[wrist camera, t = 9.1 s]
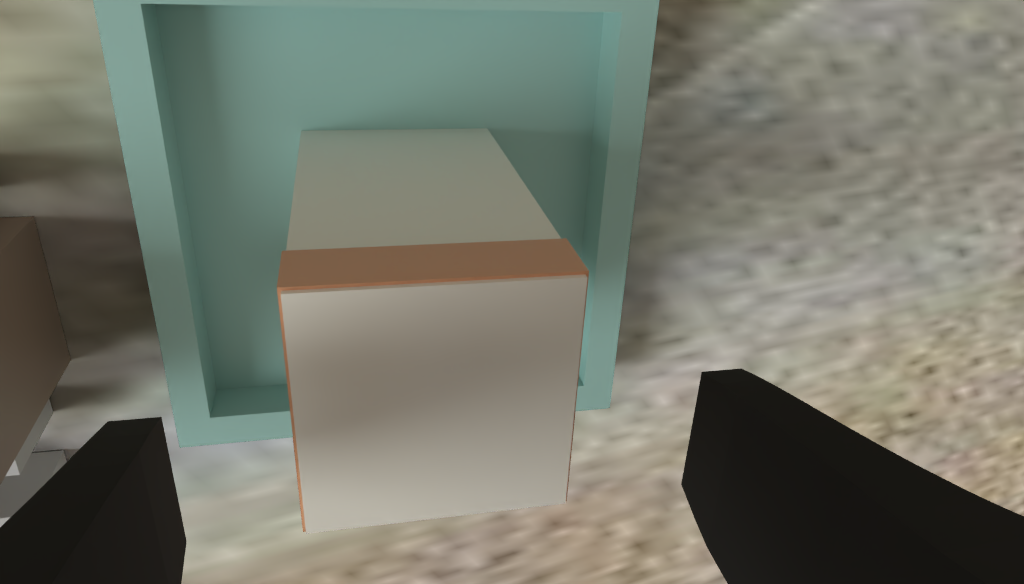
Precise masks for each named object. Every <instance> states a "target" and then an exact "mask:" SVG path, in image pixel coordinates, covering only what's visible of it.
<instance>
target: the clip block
mask: <svg viewBox="0 0 1024 584" xmlns="http://www.w3.org/2000/svg"><path fill="white" fill-rule="evenodd" d="M52 414H53V410H52V407H51V403H50V400H49V399H48V401H47V403H46V405H45V407H44V408H43V410H42V412H41V414H40V416H39V417H38V419H37V421H36V423H35V424H34V426H33V428H32V430H31V432H30V433H29V435H28V437H27V439H26V440H25V442H24V444H23V446H22V448H21V449H20V451H19V453H18V455H17V456H16V458H15V460H14V462H13V464H12V465H11V467H10V469H9V471H8V472H7V474H6V476H5V478H4V480H3V481H2V483H1V485H0V527H1V526H2V525H3V524H4V523H5V522H6V521H7V520H8V519H9V518H10V517H11V516H12V515H14V514H15V513H16V512H17V511H18V510H19V509H20V508H21V507H22V506H23V505H24V504H25V503H26V502H27V501H28V500H29V499H30V498H31V497H32V496H33V495H34V494H35V493H36V492H37V491H38V490H39V489H40V488H41V487H42V486H43V485H44V484H45V483H46V482H47V481H48V480H49V479H50V478H51V477H52V476H53V475H54V474H55V473H56V472H57V471H58V470H59V469H60V468H61V467H62V466H63V465H64V464H65V463H66V462H67V460H66V457H65V453H64V450H61V451H50V452H39V453H32V451H33V449H34V448H35V446H36V444H37V442H38V440H39V438H40V436H41V434H42V433H43V431H44V429H45V427H46V425H47V423H48V421H49V420H50V418H51V416H52Z"/></svg>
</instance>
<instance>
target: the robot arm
mask: <svg viewBox="0 0 1024 584" xmlns="http://www.w3.org/2000/svg"><path fill="white" fill-rule="evenodd" d="M682 487H683V490H684V492H685V495H686V497H687V500H688V502H689V505H690V507H691V510H692V513H693V515H694V518H695V520H696V522H697V525H698V527H699V529H700V532H701V534H702V536H703V539H704V541H705V543H706V546H707V548H708V549H709V551H710V553H711V555H712V557H713V558H714V560H715V562H716V564H717V566H718V567H719V569H720V571H721V573H722V574H723V576H724V578H725V580H726V581H727V583H728V584H1024V516H1021V515H1019V514H1017V513H1015V512H1012V511H1010V510H1008V509H1005V508H1003V507H1001V506H999V505H996V504H994V503H992V502H990V501H988V500H986V499H984V498H981V497H979V496H977V495H975V494H973V493H971V492H969V491H967V490H965V489H963V488H961V487H959V486H957V485H955V484H953V483H951V482H949V481H947V480H945V479H943V478H941V477H939V476H937V475H935V474H933V473H931V472H929V471H927V470H925V469H923V468H921V467H919V466H917V465H915V464H914V463H912V462H910V461H908V460H906V459H904V458H902V457H901V456H899V455H897V454H895V453H893V452H891V451H889V450H888V449H886V448H884V447H882V446H880V445H879V444H877V443H875V442H873V441H871V440H870V439H868V438H866V437H864V436H862V435H861V434H859V433H857V432H855V431H854V430H852V429H850V428H848V427H847V426H845V425H843V424H841V423H840V422H838V421H836V420H834V419H833V418H831V417H829V416H827V415H826V414H824V413H822V412H820V411H819V410H817V409H815V408H813V407H812V406H810V405H808V404H807V403H805V402H803V401H801V400H800V399H798V398H796V397H794V396H793V395H791V394H789V393H787V392H785V391H784V390H782V389H780V388H778V387H777V386H775V385H773V384H771V383H769V382H767V381H765V380H764V379H762V378H760V377H758V376H756V375H754V374H752V373H749V372H747V371H745V370H743V369H732V370H720V371H708V372H702V374H701V380H700V385H699V391H698V396H697V402H696V407H695V413H694V418H693V424H692V429H691V435H690V440H689V446H688V451H687V456H686V462H685V467H684V473H683V478H682ZM185 548H186V537H185V532H184V527H183V522H182V517H181V512H180V507H179V502H178V497H177V492H176V487H175V483H174V478H173V473H172V468H171V463H170V458H169V453H168V448H167V443H166V438H165V433H164V428H163V423H162V418H161V417H157V418H145V419H133V420H121V421H109V422H107V423H106V424H105V425H104V426H103V427H102V428H101V429H100V430H99V431H98V432H97V433H96V434H95V435H94V436H93V437H92V438H91V439H90V440H89V441H87V442H86V443H85V444H84V445H83V446H82V447H81V448H80V449H79V450H78V451H77V452H76V453H75V454H74V455H73V456H72V457H71V458H70V459H69V460H68V461H67V462H66V463H65V464H64V465H63V466H62V467H61V468H60V469H59V470H58V471H57V472H56V473H55V474H54V475H53V476H52V477H51V478H50V479H49V480H48V481H47V482H46V483H45V484H44V485H43V486H42V487H41V488H40V489H39V490H38V491H37V492H36V493H35V494H34V495H33V496H32V497H31V498H30V499H29V500H28V501H27V502H26V503H25V504H24V505H23V506H22V507H21V508H20V509H19V510H18V511H17V512H16V513H15V514H14V515H12V516H11V517H10V518H9V519H8V520H7V521H6V522H5V523H4V524H3V525H2V526H1V527H0V584H181V580H182V572H183V564H184V556H185Z"/></svg>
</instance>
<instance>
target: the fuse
mask: <svg viewBox="0 0 1024 584" xmlns="http://www.w3.org/2000/svg"><path fill="white" fill-rule="evenodd" d="M70 360H71V359H70V355H69V351H68V347H67V343H66V339H65V336H64V332H63V328H62V324H61V320H60V316H59V312H58V308H57V305H56V301H55V297H54V293H53V289H52V285H51V281H50V278H49V274H48V270H47V266H46V262H45V258H44V254H43V250H42V247H41V243H40V239H39V235H38V231H37V227H36V223H35V220H34V216H32V217H2V218H0V485H1V483H2V481H3V480H4V478H5V476H6V474H7V472H8V471H9V469H10V467H11V465H12V464H13V462H14V460H15V458H16V456H17V455H18V453H19V451H20V449H21V448H22V446H23V444H24V442H25V440H26V439H27V437H28V435H29V433H30V432H31V430H32V428H33V426H34V424H35V423H36V421H37V419H38V417H39V416H40V414H41V412H42V410H43V408H44V407H45V405H46V403H47V401H48V399H49V398H50V396H51V394H52V392H53V391H54V389H55V387H56V385H57V383H58V382H59V380H60V378H61V376H62V375H63V373H64V371H65V369H66V367H67V366H68V364H69V362H70Z"/></svg>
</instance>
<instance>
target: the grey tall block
mask: <svg viewBox="0 0 1024 584" xmlns="http://www.w3.org/2000/svg"><path fill="white" fill-rule="evenodd" d="M588 277H589V270H588V269H587V267H586V266H585V264H584V263H583V262H582V260H581V259H580V257H579V256H578V254H577V253H576V251H575V250H574V248H573V247H572V246H571V244H570V243H569V241H568V240H567V238H563V239H561V237H560V236H559V234H558V233H557V231H556V230H555V228H554V227H553V225H552V224H551V222H550V221H549V219H548V218H547V216H546V215H545V213H544V212H543V210H542V209H541V207H540V206H539V205H538V203H537V202H536V200H535V199H534V197H533V196H532V194H531V193H530V191H529V190H528V188H527V187H526V185H525V184H524V182H523V181H522V179H521V178H520V176H519V175H518V173H517V172H516V170H515V169H514V167H513V166H512V164H511V163H510V161H509V160H508V158H507V157H506V155H505V154H504V152H503V151H502V149H501V148H500V146H499V145H498V143H497V142H496V140H495V139H494V138H493V136H492V135H491V133H490V132H489V130H488V129H487V128H466V129H388V130H310V131H301V135H300V143H299V151H298V159H297V167H296V175H295V183H294V191H293V199H292V207H291V215H290V223H289V231H288V239H287V247H286V251H282V253H281V260H280V267H279V274H278V282H277V295H278V304H279V313H280V323H281V332H282V341H283V350H284V360H285V369H286V378H287V387H288V397H289V406H290V415H291V424H292V434H293V443H294V452H295V461H296V470H297V480H298V489H299V498H300V507H301V517H302V526H303V532H306V534H307V533H316V532H325V531H333V530H342V529H350V528H359V527H367V526H376V525H385V524H393V523H402V522H410V521H419V520H427V519H436V518H445V517H453V516H462V515H470V514H479V513H487V512H496V511H505V510H513V509H522V508H530V507H539V506H548V505H556V504H565V503H566V501H567V491H568V481H569V471H570V460H571V450H572V440H573V430H574V420H575V409H576V399H577V389H578V379H579V369H580V358H581V348H582V338H583V328H584V318H585V308H586V297H587V287H588Z"/></svg>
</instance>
